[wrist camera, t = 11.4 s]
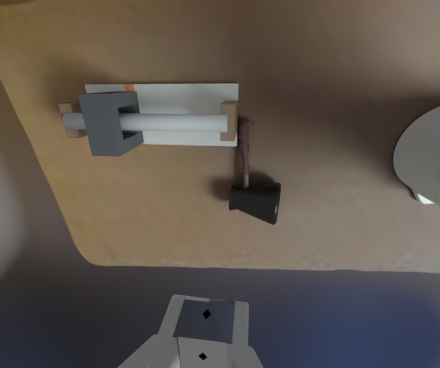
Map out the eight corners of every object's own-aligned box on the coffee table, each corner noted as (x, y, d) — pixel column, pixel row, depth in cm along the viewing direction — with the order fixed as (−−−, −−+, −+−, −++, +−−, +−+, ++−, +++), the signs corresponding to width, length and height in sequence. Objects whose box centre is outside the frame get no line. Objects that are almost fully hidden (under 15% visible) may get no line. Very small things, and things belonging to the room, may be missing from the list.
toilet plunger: (277, 215, 45) (235, 208, 48) (289, 120, 40) (241, 118, 42) (275, 232, 38) (225, 224, 41) (289, 121, 33) (232, 118, 35)
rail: (238, 83, 37) (234, 84, 28) (237, 144, 41) (233, 161, 32) (89, 84, 40) (44, 85, 31) (101, 141, 44) (64, 155, 36)
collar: (136, 91, 36) (107, 94, 28) (144, 142, 39) (119, 156, 32) (112, 91, 36) (77, 93, 29) (121, 141, 39) (92, 155, 32)
